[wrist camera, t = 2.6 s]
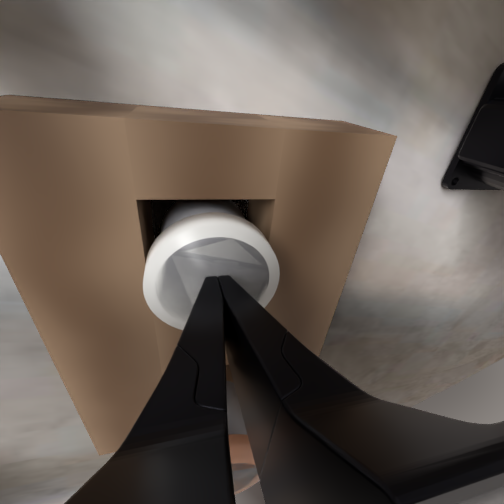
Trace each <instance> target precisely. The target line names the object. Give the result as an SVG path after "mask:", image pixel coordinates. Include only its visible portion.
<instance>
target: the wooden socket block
mask: <svg viewBox="0 0 504 504" xmlns="http://www.w3.org/2000/svg"><path fill="white" fill-rule="evenodd" d="M396 138H397V136H394V135H391V134H387V133H384V132H380V131H377V130H373V129H369V128H366V127H362V126H359V125H355V124H351V123H348V122H344V121H335V120H322V119H309V118H296V117H284V116H271V115H258V114H245V113H233V112H220V111H207V110H195V109H182V108H169V107H156V106H144V105H131V104H118V103H105V102H93V101H80V100H67V99H54V98H42V97H29V96H16V95H3V96H0V254H1V256H2V258H3V260H4V262H5V264H6V266H7V268H8V270H9V272H10V275H11V277H12V279H13V281H14V283H15V285H16V287H17V289H18V291H19V293H20V295H21V297H22V299H23V301H24V303H25V305H26V307H27V309H28V311H29V313H30V315H31V317H32V319H33V321H34V323H35V325H36V328H37V330H38V332H39V334H40V336H41V338H42V340H43V342H44V344H45V346H46V348H47V350H48V352H49V354H50V356H51V358H52V360H53V362H54V364H55V366H56V368H57V370H58V372H59V374H60V376H61V378H62V381H63V383H64V385H65V387H66V389H67V391H68V393H69V395H70V397H71V399H72V401H73V403H74V405H75V407H76V409H77V411H78V413H79V415H80V417H81V419H82V421H83V423H84V425H85V427H86V429H87V431H88V434H89V436H90V438H91V440H92V442H93V444H94V446H95V448H96V450H97V452H98V454H99V455H103V454H108V453H113V452H116V451H117V450H118V449H119V447H120V446H121V444H122V443H123V441H124V440H125V438H126V437H127V435H128V434H129V432H130V430H131V429H132V427H133V425H134V424H135V422H136V420H137V419H138V417H139V415H140V413H141V412H142V410H143V408H144V407H145V405H146V403H147V402H148V400H149V398H150V397H151V395H152V393H153V392H154V390H155V388H156V386H157V385H158V383H159V381H160V379H161V377H162V375H163V374H164V372H165V370H166V368H167V365H168V363H169V361H170V359H171V357H172V355H173V352H174V350H175V347H176V346H177V343H178V341H179V338H180V336H181V334H182V331H183V330H181V329H177V328H175V327H173V326H170V325H168V324H167V323H165V322H163V321H162V320H161V319H159V318H158V317H157V316H156V315H155V314H154V313H153V312H152V311H151V309H150V308H149V306H148V304H147V302H146V300H145V297H144V293H143V277H144V271H145V264H146V259H147V255H148V252H149V250H150V248H151V246H152V244H153V243H154V241H155V237H154V229H153V220H152V212H151V203H150V200H179V199H249V200H248V211H247V221H249V222H251V223H252V224H254V225H255V226H256V227H257V228H258V229H259V230H260V231H261V232H262V233H263V234H264V236H265V238H266V239H267V241H268V243H269V244H270V246H271V248H272V250H273V252H274V253H275V255H276V258H277V260H278V264H279V271H280V276H279V283H278V286H277V289H276V292H275V294H274V296H273V297H272V299H271V300H270V302H269V303H268V304H267V306H266V307H265V309H266V310H267V311H268V312H269V313H270V314H271V315H272V316H273V317H274V318H275V319H276V320H277V321H278V322H280V323H281V324H282V325H283V326H284V327H285V328H286V329H287V332H288V331H289V332H290V333H291V334H292V335H293V336H294V337H296V338H297V339H298V340H299V341H300V342H301V343H302V344H303V345H304V346H306V347H307V348H308V349H309V350H310V351H312V352H313V353H314V354H315V355H317V356H318V357H319V355H320V352H321V349H322V346H323V344H324V341H325V338H326V335H327V332H328V329H329V327H330V324H331V321H332V318H333V315H334V313H335V310H336V307H337V304H338V301H339V298H340V296H341V293H342V290H343V287H344V284H345V282H346V279H347V276H348V273H349V270H350V268H351V265H352V262H353V259H354V256H355V253H356V251H357V248H358V245H359V242H360V239H361V237H362V234H363V231H364V228H365V225H366V223H367V220H368V217H369V214H370V211H371V208H372V206H373V203H374V200H375V197H376V194H377V192H378V189H379V186H380V183H381V180H382V177H383V175H384V172H385V169H386V166H387V163H388V161H389V158H390V155H391V152H392V149H393V147H394V144H395V141H396ZM225 358H226V381H230V382H233V383H234V381H233V378H232V374H231V370H230V366H229V362H228V359H227V355H226V351H225Z"/></svg>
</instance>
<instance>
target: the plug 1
mask: <svg viewBox="0 0 504 504" xmlns="http://www.w3.org/2000/svg"><path fill="white" fill-rule="evenodd" d="M221 275H229V276H231V277H232V278H233V279H234V280H235V281H236V282H237V283H238V284H239V285H240V286H241V287H242V288H243V289H245V290H246V291H247V292H248V293H249V294H250V295H251V296H252V297H253V298H254V299H255V300H256V301H257V302H258V303H259V304H260V305H261V306H263V307H264V308H265V307H266V306H267V304H268V303H269V302H270V300H271V299H272V297H273V296H274V294H275V292H276V289H277V286H278V283H279V276H280V271H279V264H278V260H277V258H276V255H275V253H274V252H273V250H272V248H271V246H270V244H269V243H268V241H267V239H266V238H265V236H264V234H263V233H262V232H261V231H260V230H259V229H258V228H257V227H256V226H255V225H254V224H252V223H251V222H249V221H247V220H246V219H245V218H244V216H243V214H242V212H241V210H240V209H239V207H238V206H237V205H236V204H235V203H234V202H233V201H231V200H230V199H179V200H177V201H176V202H175V203H173V204H172V205H171V206H170V208H169V209H168V210H167V212H166V213H165V215H164V217H163V220H162V223H161V230H160V235H159V236H158V237H157V238H156V240H155V241H154V243H153V244H152V246H151V248H150V250H149V252H148V255H147V259H146V264H145V271H144V277H143V293H144V297H145V300H146V302H147V304H148V306H149V308H150V309H151V311H152V312H153V313H154V314H155V315H156V316H157V317H158V318H159V319H161V320H162V321H163V322H165V323H167V324H168V325H170V326H173V327H175V328H177V329H181V330H183V329H184V326H185V324H186V322H187V319H188V317H189V315H190V312H191V310H192V307H193V305H194V303H195V300H196V298H197V296H198V293H199V291H200V289H201V286H202V284H203V281H204V279H205V277H207V276H217V277H218V276H221Z"/></svg>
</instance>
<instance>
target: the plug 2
mask: <svg viewBox="0 0 504 504" xmlns="http://www.w3.org/2000/svg"><path fill="white" fill-rule="evenodd" d="M226 389H227V419H228V437H229V447H230V456H231V466H232V475H233V484H234V494H238V493H240V492H242V491H244V490H246V489H248V488H249V487H251V486H252V485H254V484H255V483H257V482H258V481H259V480H260V479H259V477H258V473H257V469H256V465H255V462H254V458H253V454H252V450H251V446H250V442H249V439H248V435H247V431H246V427H245V423H244V420H243V416H242V412H241V408H240V404H239V401H238V397H237V393H236V389H235V385H234V383H233V382H230V381H226Z"/></svg>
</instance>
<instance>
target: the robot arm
mask: <svg viewBox="0 0 504 504" xmlns="http://www.w3.org/2000/svg"><path fill="white" fill-rule="evenodd" d="M442 185H443V186H444V187H446V188H448V189H469V190H504V63H502V64H501V65H500V66H499V67H498V68H497V69H496V71H495V72H494V74H493V76H492V78H491V81H490V83H489V85H488V87H487V89H486V91H485V93H484V95H483V97H482V99H481V101H480V104H479V106H478V108H477V110H476V112H475V114H474V116H473V118H472V120H471V122H470V124H469V126H468V129H467V131H466V133H465V135H464V137H463V139H462V141H461V143H460V145H459V147H458V149H457V151H456V154H455V156H454V158H453V160H452V162H451V164H450V166H449V168H448V170H447V172H446V174H445V177H444V179H443V181H442ZM225 351H226V355H227V359H228V362H229V366H230V370H231V374H232V378H233V381H234V385H235V389H236V393H237V397H238V401H239V404H240V408H241V412H242V416H243V420H244V423H245V427H246V431H247V435H248V439H249V442H250V446H251V450H252V454H253V458H254V462H255V465H256V469H257V473H258V477H259V479H260V485H261V488H262V492H263V496H264V500H265V504H504V421H502V422H499V423H494V424H477V423H469V422H464V421H460V420H456V419H452V418H448V417H444V416H440V415H437V414H433V413H429V412H426V411H422V410H418V409H414V408H410V407H407V406H403V405H399V404H395V403H391V402H388V401H384V400H381V399H378V398H376V397H373V396H371V395H369V394H368V393H366V392H364V391H363V390H361V389H360V388H358V387H357V386H355V385H354V384H353V383H352V382H350V381H349V380H348V379H346V378H345V377H344V376H342V375H341V374H340V373H338V372H337V371H336V370H335V369H333V368H332V367H331V366H329V365H328V364H327V363H325V362H324V361H323V360H322V359H320V358H319V357H318V356H317V355H315V354H314V353H313V352H312V351H310V350H309V349H308V348H307V347H306V346H304V345H303V344H302V343H301V342H300V341H299V340H298V339H297V338H296V337H294V336H293V335H292V334H291V333H290V332H289V331H288V332H287V329H286V328H285V327H284V326H283V325H282V324H281V323H280V322H278V321H277V320H276V319H275V318H274V317H273V316H272V315H271V314H270V313H269V312H268V311H267V310H266V309H265V308H264V307H263V306H261V305H260V304H259V303H258V302H257V301H256V300H255V299H254V298H253V297H252V296H251V295H250V294H249V293H248V292H247V291H246V290H245V289H243V288H242V287H241V286H240V285H239V284H238V283H237V282H236V281H235V280H234V279H233V278H232V277H231V276H229V275H221V276H218V277H217V276H207V277H205V279H204V281H203V284H202V286H201V289H200V291H199V293H198V296H197V298H196V300H195V303H194V305H193V307H192V310H191V312H190V315H189V317H188V319H187V322H186V324H185V326H184V329H183V331H182V334H181V336H180V338H179V341H178V343H177V346H176V347H175V350H174V352H173V355H172V357H171V359H170V361H169V363H168V365H167V368H166V370H165V372H164V374H163V375H162V377H161V379H160V381H159V383H158V385H157V386H156V388H155V390H154V392H153V393H152V395H151V397H150V398H149V400H148V402H147V403H146V405H145V407H144V408H143V410H142V412H141V413H140V415H139V417H138V419H137V420H136V422H135V424H134V425H133V427H132V429H131V430H130V432H129V434H128V435H127V437H126V438H125V440H124V441H123V443H122V444H121V446H120V447H119V449H118V450H117V451H116V453H115V454H114V455H113V456H112V457H111V458H110V460H109V461H108V462H107V463H106V464H105V465H104V466H103V467H102V468H101V469H100V470H98V471H97V472H96V473H95V474H94V475H93V476H92V477H91V478H90V479H89V480H88V481H87V482H86V483H85V484H84V485H83V486H82V487H81V488H80V489H79V490H78V491H77V492H76V493H75V494H74V495H73V496H72V497H71V498H70V499H68V500H67V501H66V502H65V503H64V504H236V503H235V494H234V484H233V475H232V466H231V456H230V447H229V437H228V419H227V389H226V358H225Z"/></svg>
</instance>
